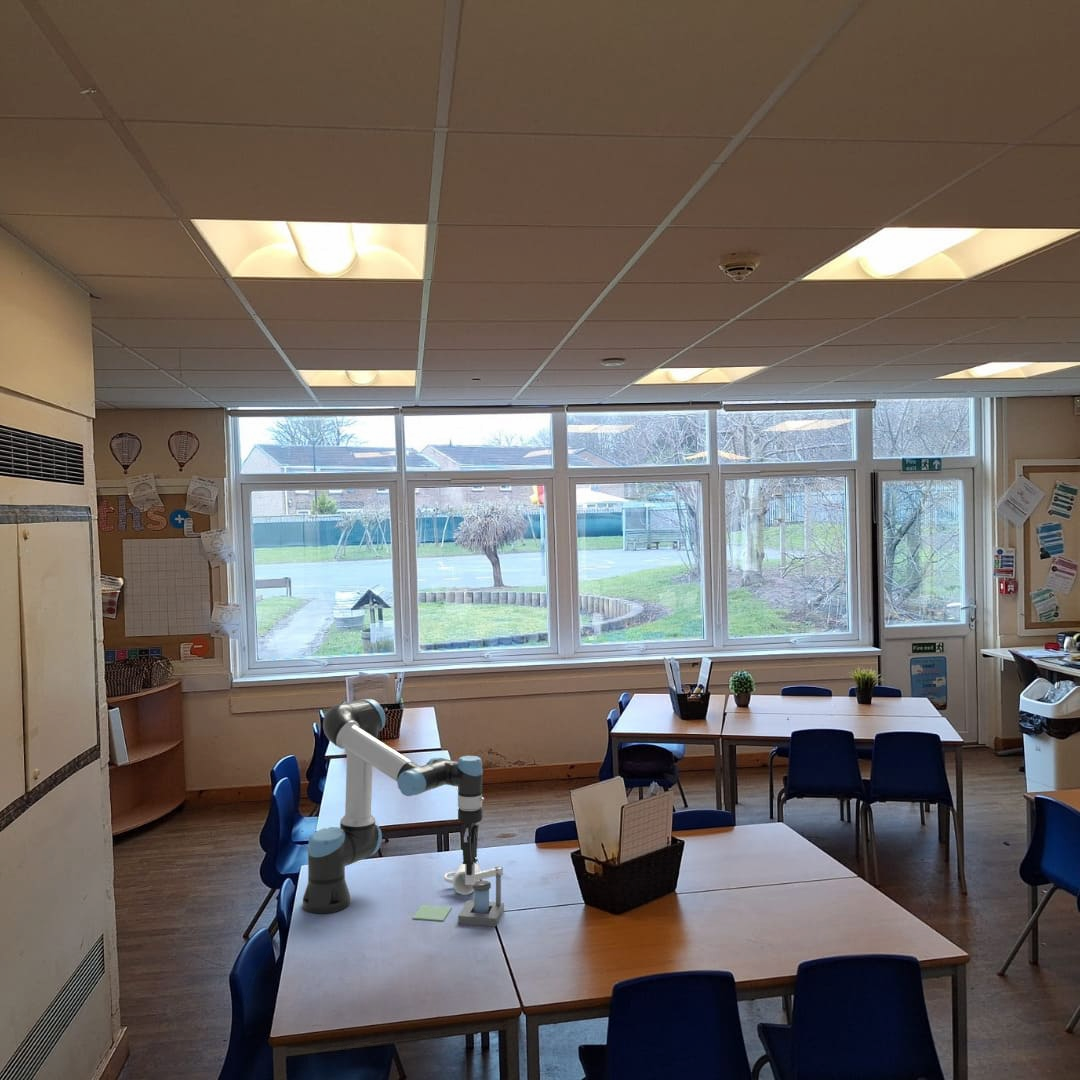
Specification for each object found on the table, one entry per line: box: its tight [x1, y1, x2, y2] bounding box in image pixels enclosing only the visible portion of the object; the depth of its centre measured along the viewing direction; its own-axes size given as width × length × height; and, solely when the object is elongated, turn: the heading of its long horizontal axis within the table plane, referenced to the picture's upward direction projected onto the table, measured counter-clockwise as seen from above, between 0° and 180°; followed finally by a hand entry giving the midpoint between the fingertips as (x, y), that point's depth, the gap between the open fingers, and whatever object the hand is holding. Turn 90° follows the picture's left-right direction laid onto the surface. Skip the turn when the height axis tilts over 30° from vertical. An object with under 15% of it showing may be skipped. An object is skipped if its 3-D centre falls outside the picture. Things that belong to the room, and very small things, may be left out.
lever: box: [475, 866, 504, 881], centre depth 288 cm, size 11×3×2 cm, turn 126°
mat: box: [412, 904, 453, 922], centre depth 290 cm, size 10×10×1 cm
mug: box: [443, 862, 482, 896], centre depth 310 cm, size 12×10×8 cm
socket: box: [457, 875, 505, 928], centre depth 287 cm, size 12×12×12 cm
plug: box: [472, 880, 492, 914], centre depth 287 cm, size 6×6×10 cm
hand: (470, 883), depth 280 cm, fingers closed
